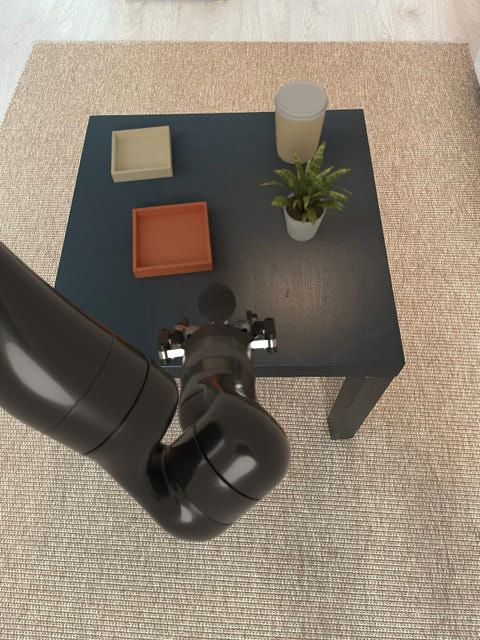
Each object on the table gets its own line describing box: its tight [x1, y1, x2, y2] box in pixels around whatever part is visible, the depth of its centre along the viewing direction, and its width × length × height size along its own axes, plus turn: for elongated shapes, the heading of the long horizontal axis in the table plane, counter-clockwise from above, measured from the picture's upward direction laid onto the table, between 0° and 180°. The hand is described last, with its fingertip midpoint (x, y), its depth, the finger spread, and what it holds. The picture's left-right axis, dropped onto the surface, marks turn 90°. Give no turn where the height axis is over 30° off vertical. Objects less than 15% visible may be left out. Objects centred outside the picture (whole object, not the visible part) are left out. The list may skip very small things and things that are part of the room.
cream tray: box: [110, 125, 174, 183], centre depth 93 cm, size 11×11×2 cm
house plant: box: [258, 140, 358, 242], centre depth 77 cm, size 14×14×16 cm
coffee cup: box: [273, 79, 329, 165], centre depth 88 cm, size 9×9×12 cm
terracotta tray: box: [132, 200, 214, 279], centre depth 84 cm, size 13×13×2 cm
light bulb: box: [197, 283, 237, 324], centre depth 73 cm, size 6×6×10 cm
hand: (217, 320), depth 64 cm, fingers open, 8 cm apart
